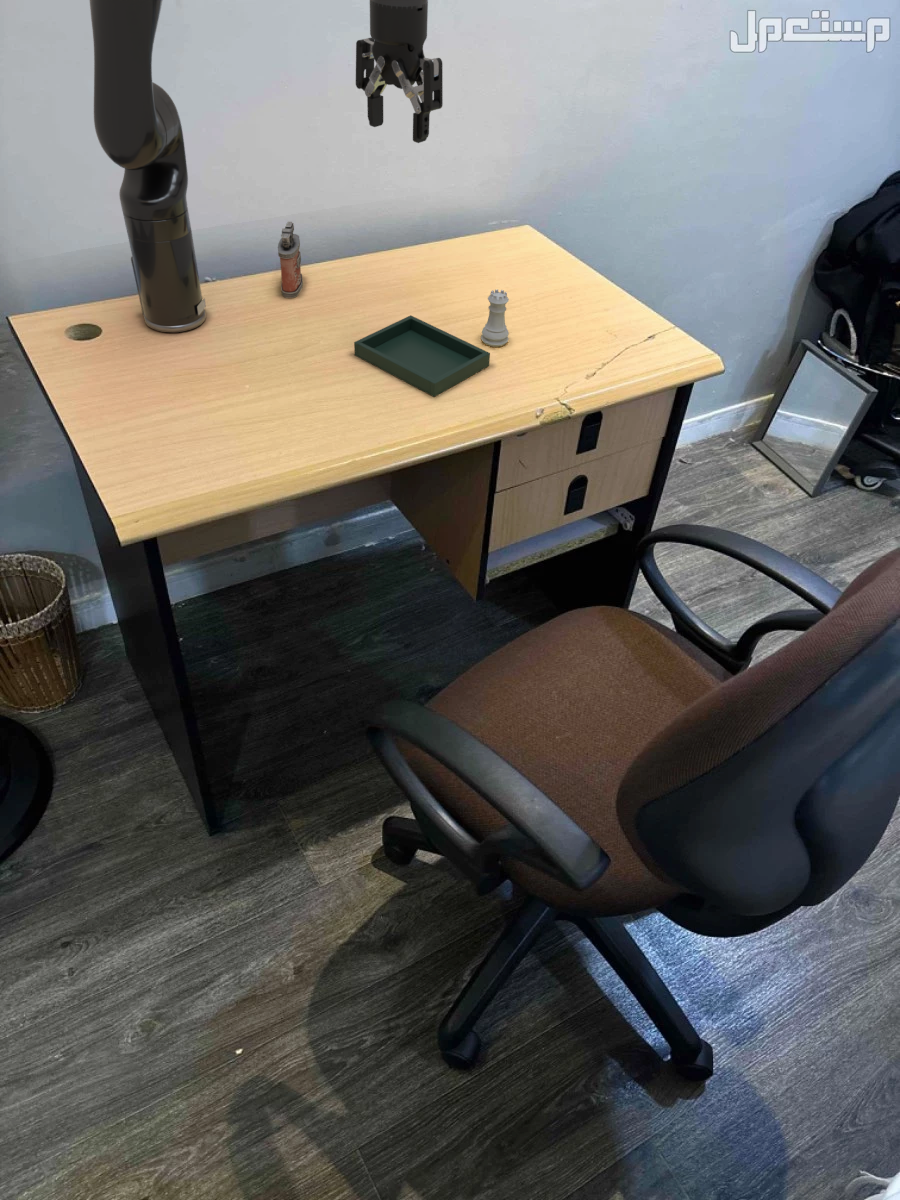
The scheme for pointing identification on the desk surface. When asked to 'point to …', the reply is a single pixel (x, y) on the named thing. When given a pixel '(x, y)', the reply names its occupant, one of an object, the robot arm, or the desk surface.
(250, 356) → the desk surface
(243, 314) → the desk surface
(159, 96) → the robot arm
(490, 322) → the rook chess piece
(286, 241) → the lighter
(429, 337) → the tray
